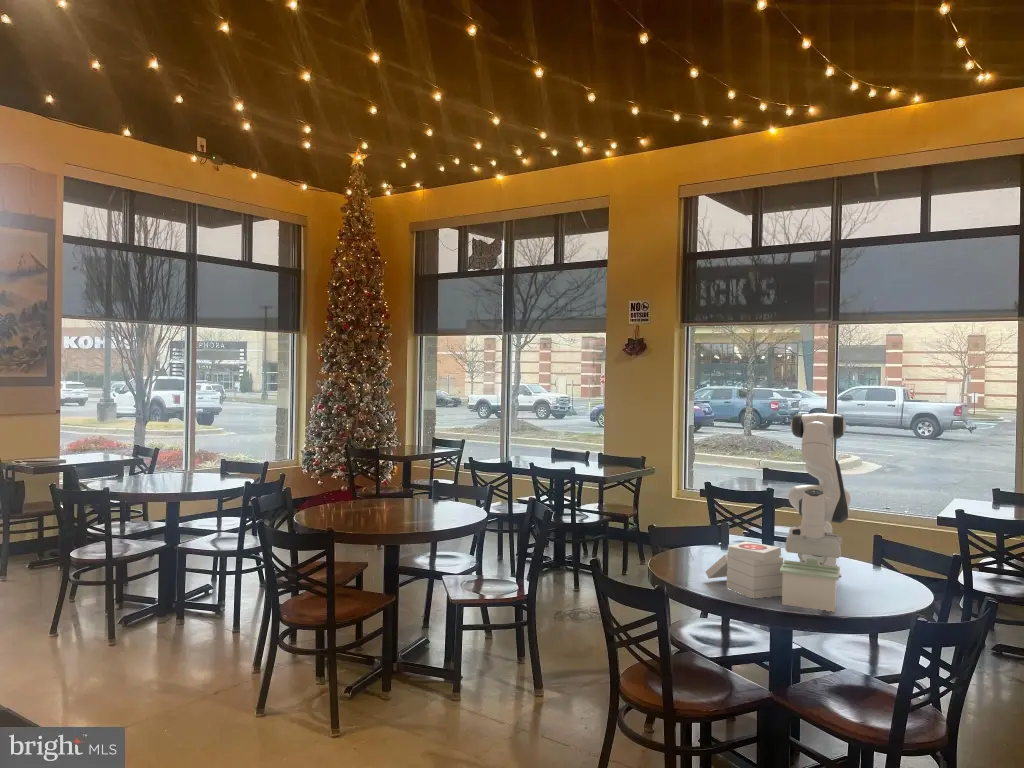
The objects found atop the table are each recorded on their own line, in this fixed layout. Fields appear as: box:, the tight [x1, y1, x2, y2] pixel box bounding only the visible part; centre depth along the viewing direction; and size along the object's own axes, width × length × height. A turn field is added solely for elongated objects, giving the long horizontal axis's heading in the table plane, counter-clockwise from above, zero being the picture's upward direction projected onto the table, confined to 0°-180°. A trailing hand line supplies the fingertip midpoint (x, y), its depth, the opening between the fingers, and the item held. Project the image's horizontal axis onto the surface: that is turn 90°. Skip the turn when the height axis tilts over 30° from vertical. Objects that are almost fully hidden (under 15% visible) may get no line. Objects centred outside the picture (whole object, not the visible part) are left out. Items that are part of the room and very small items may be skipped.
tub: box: [781, 573, 838, 613], centre depth 268 cm, size 16×18×12 cm
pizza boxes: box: [705, 540, 784, 600], centre depth 286 cm, size 19×30×18 cm, turn 24°
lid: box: [780, 557, 841, 581], centre depth 271 cm, size 24×20×4 cm
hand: (812, 566), depth 280 cm, fingers open, 5 cm apart
